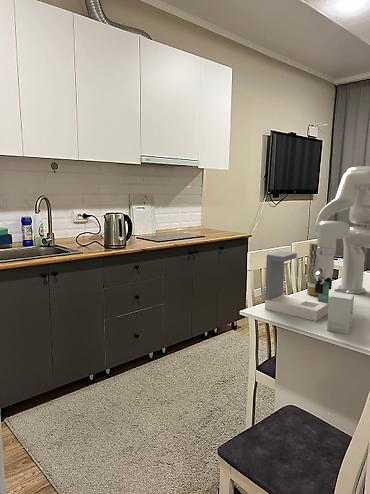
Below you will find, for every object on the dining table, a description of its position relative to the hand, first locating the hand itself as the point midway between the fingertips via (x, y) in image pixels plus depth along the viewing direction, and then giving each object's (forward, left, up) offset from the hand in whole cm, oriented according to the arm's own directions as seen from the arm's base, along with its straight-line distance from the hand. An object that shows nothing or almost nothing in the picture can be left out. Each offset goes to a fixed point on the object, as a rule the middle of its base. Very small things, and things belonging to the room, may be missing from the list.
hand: (323, 290), depth 159 cm
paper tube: (-18, +1, -7) cm, 19 cm away
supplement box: (+27, -2, -7) cm, 28 cm away
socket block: (+8, -13, -7) cm, 17 cm away
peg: (-1, 0, -7) cm, 7 cm away
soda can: (+19, +1, -7) cm, 21 cm away
